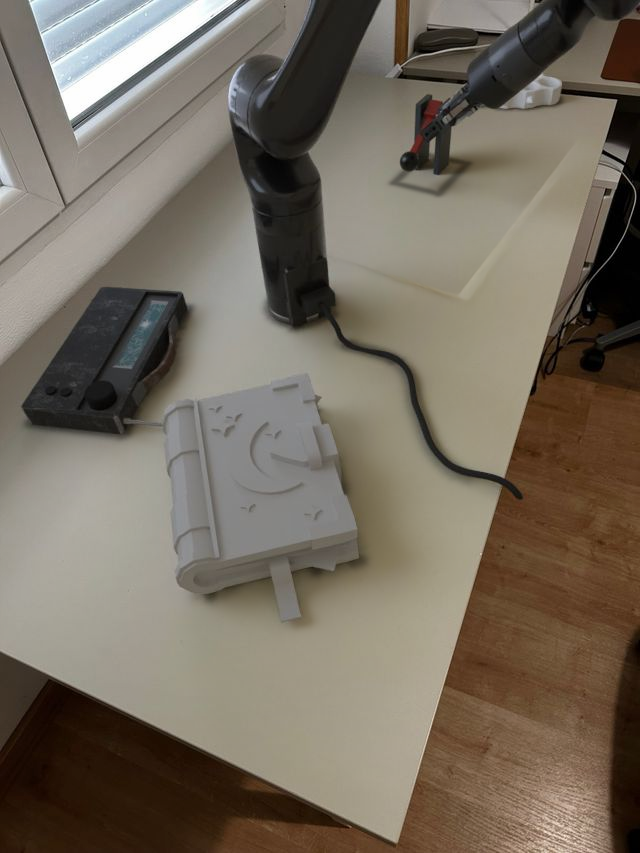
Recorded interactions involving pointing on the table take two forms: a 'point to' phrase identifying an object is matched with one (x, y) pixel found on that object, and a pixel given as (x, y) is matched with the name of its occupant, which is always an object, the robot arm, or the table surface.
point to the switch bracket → (440, 142)
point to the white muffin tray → (536, 94)
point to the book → (256, 490)
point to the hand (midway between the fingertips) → (425, 136)
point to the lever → (419, 139)
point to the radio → (109, 361)
